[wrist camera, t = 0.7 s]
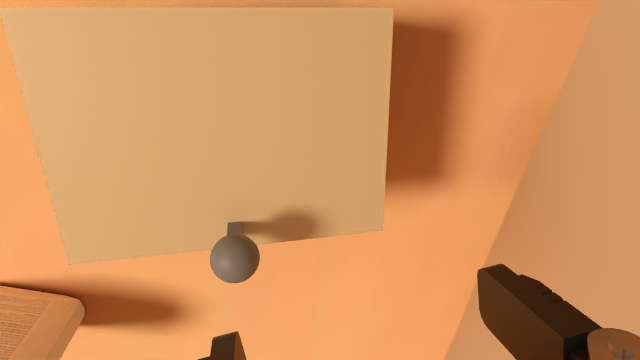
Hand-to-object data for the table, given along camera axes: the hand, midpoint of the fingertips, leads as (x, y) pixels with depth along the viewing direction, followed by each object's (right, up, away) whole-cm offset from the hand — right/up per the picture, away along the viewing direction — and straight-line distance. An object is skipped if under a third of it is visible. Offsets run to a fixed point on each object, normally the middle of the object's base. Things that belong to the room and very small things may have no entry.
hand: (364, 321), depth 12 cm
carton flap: (-8, +7, +14) cm, 17 cm away
